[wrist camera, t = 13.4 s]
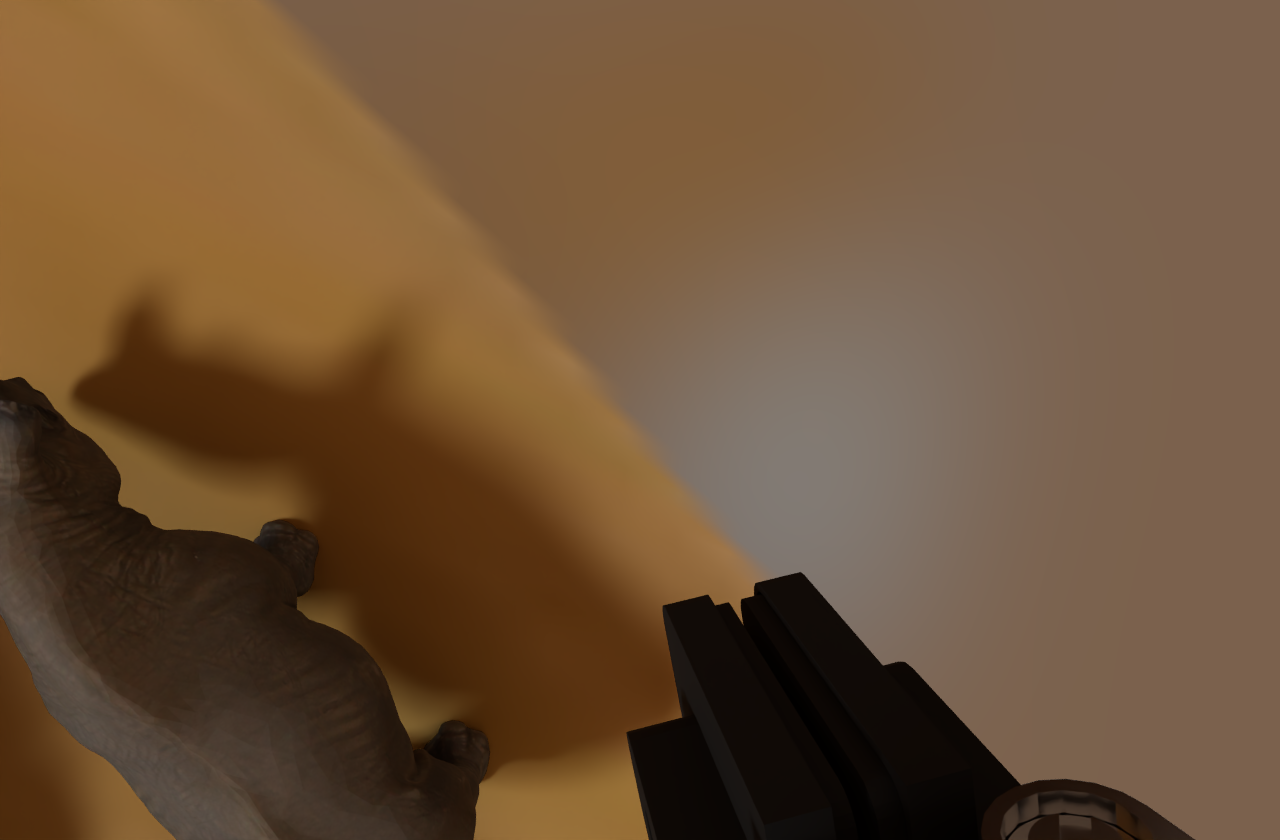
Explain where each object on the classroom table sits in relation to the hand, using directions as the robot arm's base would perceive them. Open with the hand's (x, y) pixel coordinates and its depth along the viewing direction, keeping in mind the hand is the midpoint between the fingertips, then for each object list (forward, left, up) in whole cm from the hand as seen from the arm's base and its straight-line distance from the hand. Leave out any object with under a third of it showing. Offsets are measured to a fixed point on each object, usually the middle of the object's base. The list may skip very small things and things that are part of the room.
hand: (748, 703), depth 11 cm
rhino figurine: (0, +8, -10) cm, 13 cm away
